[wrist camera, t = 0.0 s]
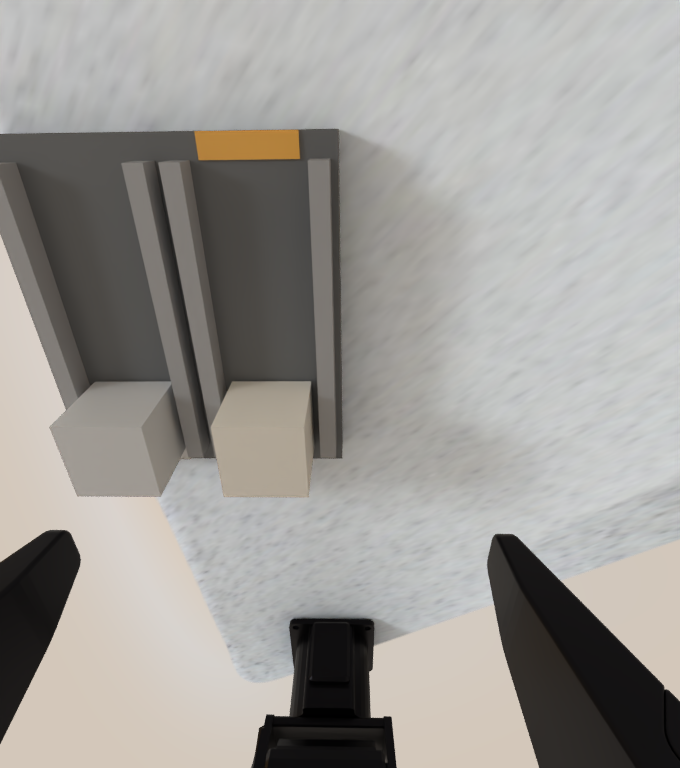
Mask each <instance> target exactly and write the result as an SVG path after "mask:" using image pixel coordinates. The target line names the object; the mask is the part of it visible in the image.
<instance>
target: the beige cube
mask: <svg viewBox="0 0 680 768" xmlns="http://www.w3.org/2000/svg"><path fill="white" fill-rule="evenodd" d="M211 432H212V437H213V442H214V448H215V453H216V458H217V464H218V469H219V474H220V479H221V485H222V490H223V495H224V497H309V489H310V480H311V471H312V463H313V454H314V426H313V407H312V387H311V381H232V383H231V385H230V387H229V389H228V391H227V393H226V395H225V398H224V400H223V402H222V404H221V406H220V408H219V410H218V413H217V415H216V417H215V419H214V421H213V423H212V425H211Z"/></svg>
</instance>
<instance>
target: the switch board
mask: <svg viewBox="0 0 680 768" xmlns="http://www.w3.org/2000/svg"><path fill="white" fill-rule="evenodd" d="M0 234H1V237H2V239H3V242H4V245H5V247H6V250H7V253H8V256H9V258H10V261H11V264H12V266H13V269H14V272H15V274H16V277H17V280H18V282H19V285H20V288H21V290H22V293H23V296H24V298H25V301H26V304H27V306H28V309H29V312H30V314H31V317H32V320H33V322H34V325H35V328H36V330H37V333H38V336H39V338H40V341H41V344H42V347H43V349H44V352H45V355H46V357H47V360H48V362H49V365H50V368H51V371H52V373H53V376H54V379H55V381H56V384H57V387H58V389H59V392H60V395H61V397H62V400H63V403H64V405H65V408H66V410H67V409H68V408H69V407H70V406H71V405H72V404H73V403H74V402H75V401H76V400H77V399H78V398H79V397H80V396H81V395H82V394H83V393H84V392H85V391H86V390H87V389H88V388H89V387H90V386H91V385H92V384H93V383H94V382H145V381H171V384H172V388H173V392H174V397H175V401H176V406H177V410H178V414H179V419H180V423H181V427H182V432H183V436H184V441H185V445H186V449H185V451H184V452H183V454H182V456H181V458H180V459H191V458H216V453H215V448H214V442H213V437H212V432H211V425H212V423H213V421H214V419H215V417H216V415H217V413H218V410H219V408H220V406H221V404H222V402H223V400H224V398H225V395H226V393H227V391H228V389H229V387H230V385H231V383H232V381H311V387H312V407H313V426H314V454H313V458H342V444H343V438H342V358H341V279H340V200H339V129H306V130H238V131H171V132H104V133H37V134H0Z"/></svg>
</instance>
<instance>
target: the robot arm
mask: <svg viewBox="0 0 680 768" xmlns="http://www.w3.org/2000/svg"><path fill="white" fill-rule="evenodd" d="M80 561H81V559H80V554H79V552H78V549H77V547H76V545H75V542H74V540H73V538H72V535H71V534H70V533H69V532H68V531H65V530H49V531H46V532H44V533H42V534H41V535H40V536H38V537H37V538H35V539H34V540H32V541H31V542H30V543H28V544H26V545H25V546H23V547H22V548H21V549H19V550H18V551H16V552H15V553H13V554H12V555H10V556H9V557H8V558H6V559H5V560H3V561H2V562H0V744H1V741H2V739H3V737H4V735H5V733H6V731H7V729H8V727H9V725H10V723H11V721H12V719H13V717H14V715H15V713H16V711H17V709H18V707H19V705H20V703H21V701H22V699H23V697H24V695H25V693H26V691H27V689H28V687H29V685H30V683H31V680H32V679H33V677H34V675H35V672H36V671H37V669H38V667H39V664H40V663H41V661H42V658H43V656H44V654H45V652H46V650H47V648H48V646H49V644H50V642H51V640H52V637H53V635H54V632H55V630H56V628H57V625H58V622H59V620H60V617H61V615H62V612H63V609H64V607H65V604H66V601H67V598H68V596H69V593H70V591H71V588H72V586H73V583H74V580H75V578H76V575H77V573H78V570H79V567H80ZM487 568H488V575H489V580H490V585H491V590H492V596H493V601H494V605H495V611H496V616H497V621H498V626H499V632H500V636H501V641H502V645H503V650H504V653H505V657H506V660H507V663H508V667H509V670H510V673H511V676H512V680H513V683H514V686H515V690H516V693H517V696H518V700H519V703H520V706H521V709H522V713H523V716H524V719H525V722H526V726H527V729H528V732H529V736H530V739H531V742H532V745H533V749H534V752H535V755H536V758H537V761H538V765H539V768H680V701H679V700H678V699H677V698H676V697H675V696H674V695H673V694H672V693H671V692H670V691H669V690H664V685H663V684H662V683H661V682H660V681H659V680H658V679H657V678H656V677H655V676H654V675H653V674H652V673H651V672H650V671H649V670H648V669H647V668H646V667H645V666H644V665H643V664H642V663H641V662H640V661H639V660H638V659H637V658H636V657H635V656H634V655H633V654H632V653H631V652H630V651H629V650H628V649H627V648H626V647H625V646H624V645H623V644H622V643H621V642H620V641H619V640H618V639H617V638H616V637H615V636H614V635H613V634H612V633H611V632H610V631H609V629H608V628H606V626H604V625H603V623H602V622H601V621H599V619H598V618H597V617H596V616H595V615H594V614H593V613H592V612H591V611H590V610H589V609H588V608H587V607H586V606H585V605H584V604H583V603H582V602H581V601H580V600H579V599H578V598H577V597H576V596H575V595H574V594H573V593H572V592H571V591H570V590H569V589H568V588H567V587H566V586H565V585H564V584H563V583H562V582H561V581H560V580H559V579H558V578H557V577H556V576H555V575H554V574H553V573H552V572H551V571H550V570H549V569H548V568H547V567H546V566H545V565H544V564H543V563H542V562H541V561H540V560H539V559H538V558H537V557H536V556H535V555H534V554H533V553H532V552H531V551H530V550H529V549H528V547H527V546H526V545H525V544H524V543H523V542H522V541H521V540H520V539H519V538H518V537H516V536H515V535H513V534H495V535H494V536H493V538H492V542H491V547H490V551H489V556H488V561H487ZM289 629H290V637H291V646H292V655H293V664H294V679H293V688H292V697H291V708H290V716H289V717H288V716H287V717H286V716H274V715H266V719H265V724H264V726H262V727H260V728H259V732H258V739H257V746H256V752H255V757H254V761H253V764H252V767H251V768H396V759H395V749H394V739H393V728H392V718H391V717H386V716H384V718H371V715H370V686H369V671H371V670H372V668H373V645H374V622H373V621H371V620H359V619H293V620H291V621H290V627H289Z"/></svg>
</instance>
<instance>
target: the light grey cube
mask: <svg viewBox="0 0 680 768" xmlns="http://www.w3.org/2000/svg"><path fill="white" fill-rule="evenodd" d="M49 428H50V430H51V432H52V435H53V437H54V440H55V442H56V445H57V447H58V450H59V452H60V455H61V457H62V460H63V462H64V465H65V467H66V469H67V472H68V474H69V477H70V479H71V482H72V484H73V487H74V489H75V492H76V494H77V496H125V497H129V496H130V497H132V496H133V497H141V496H142V497H161V495H162V493H163V491H164V489H165V487H166V486H167V484H168V482H169V480H170V478H171V476H172V474H173V472H174V470H175V468H176V466H177V464H178V462H179V460H180V458H181V456H182V454H183V452H184V451H185V449H186V445H185V441H184V436H183V432H182V427H181V423H180V419H179V414H178V410H177V406H176V401H175V397H174V392H173V388H172V384H171V381H145V382H94V383H93V384H92V385H91V386H90V387H89V388H88V389H87V390H86V391H85V392H84V393H83V394H82V395H81V396H80V397H79V398H78V399H77V400H76V401H75V402H74V403H73V404H72V405H71V406H70V407H69V408H68V409H67V410H66V411H65V412H64V413H63V414H62V415H61V416H60V417H59V418H58V419H57V420H56V421H55V422H54V423H53V424H52V425H51V426H50V427H49Z"/></svg>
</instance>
